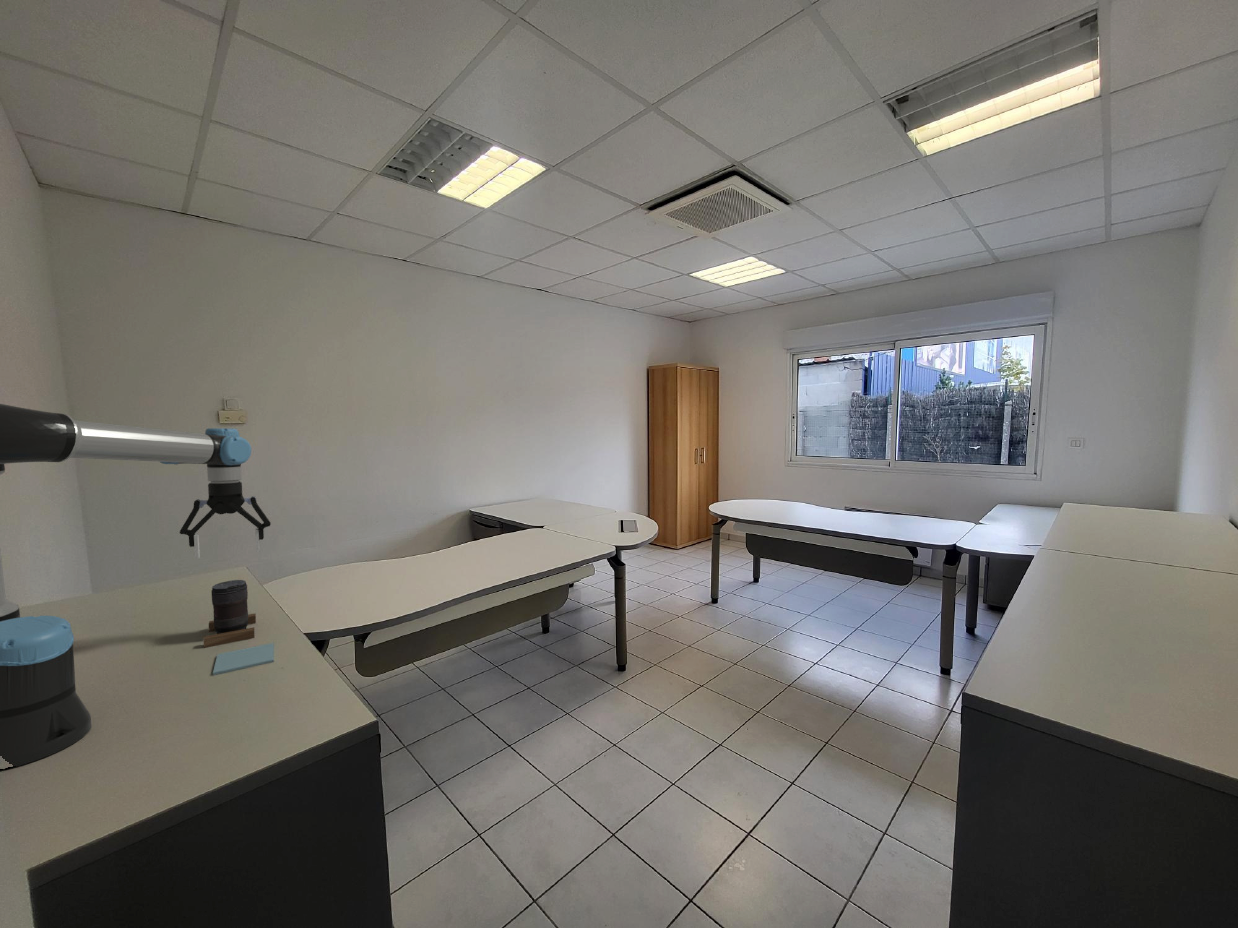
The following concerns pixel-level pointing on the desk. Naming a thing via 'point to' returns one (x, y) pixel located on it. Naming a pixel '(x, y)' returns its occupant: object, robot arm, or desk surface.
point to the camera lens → (230, 606)
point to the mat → (244, 658)
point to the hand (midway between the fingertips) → (228, 554)
